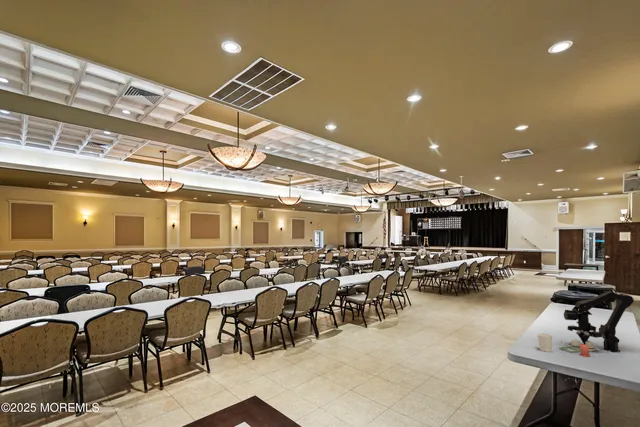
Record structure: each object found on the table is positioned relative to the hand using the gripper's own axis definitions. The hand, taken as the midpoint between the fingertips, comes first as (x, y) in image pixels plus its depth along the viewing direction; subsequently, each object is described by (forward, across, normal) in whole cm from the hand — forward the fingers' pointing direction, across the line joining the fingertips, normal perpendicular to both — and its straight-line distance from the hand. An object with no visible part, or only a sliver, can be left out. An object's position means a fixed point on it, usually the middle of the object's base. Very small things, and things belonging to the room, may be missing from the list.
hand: (585, 344), depth 213 cm
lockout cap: (+3, -10, +14) cm, 18 cm away
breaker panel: (+3, -1, +2) cm, 4 cm away
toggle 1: (+1, +2, +5) cm, 5 cm away
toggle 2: (+1, -3, 0) cm, 3 cm away
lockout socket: (+3, -1, +13) cm, 14 cm away
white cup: (+3, +3, +30) cm, 30 cm away
